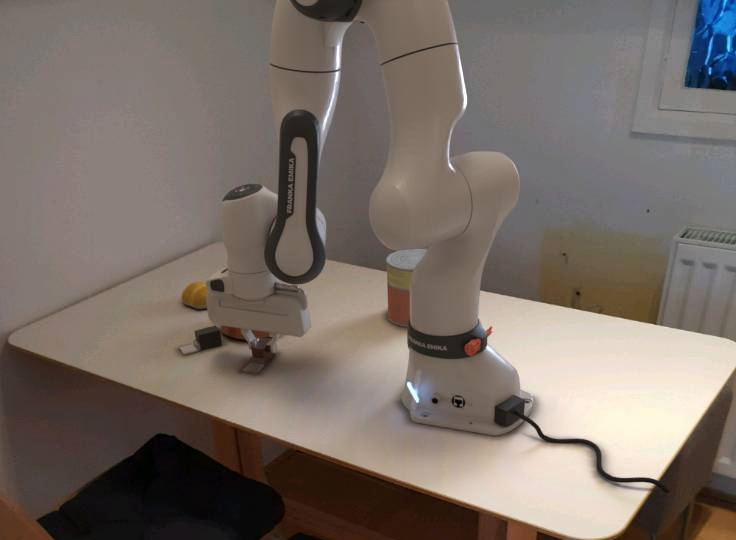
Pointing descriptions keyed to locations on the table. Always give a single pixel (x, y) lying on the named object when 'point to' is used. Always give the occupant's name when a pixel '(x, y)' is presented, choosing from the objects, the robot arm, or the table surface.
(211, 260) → the table surface
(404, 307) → the canned food
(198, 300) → the bread roll
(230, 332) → the bowl
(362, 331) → the table surface
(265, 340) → the block
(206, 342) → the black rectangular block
